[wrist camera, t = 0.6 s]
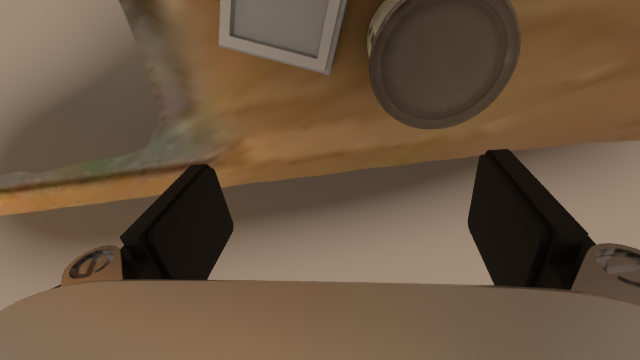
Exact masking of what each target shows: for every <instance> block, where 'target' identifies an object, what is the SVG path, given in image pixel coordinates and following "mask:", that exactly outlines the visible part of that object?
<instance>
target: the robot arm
mask: <svg viewBox="0 0 640 360" xmlns="http://www.w3.org/2000/svg"><path fill="white" fill-rule="evenodd" d="M468 227H469V230H470V233H471V234H472V237H473V239H474V241H475V243H476V245H477V248H478V250H479V252H480V254H481V256H482V259H483V261H484V263H485V265H486V268H487V270H488V272H489V274H490V276H491V278H492V281H493V283H494V285H455V284H412V283H369V282H367V283H366V282H316V281H256V280H255V281H254V280H207V279H208V277H209V275H210V273H211V271H212V269H213V267H214V265H215V264H216V262H217V260H218V258H219V256H220V254H221V252H222V251H223V249H224V247H225V245H226V243H227V241H228V239H229V238H230V236H231V234H232V232H233V221H232V219H231V216H230V213H229V210H228V207H227V204H226V201H225V199H224V196H223V193H222V190H221V187H220V184H219V181H218V178H217V175H216V173H215V170H214V169H213V168H210V166H209V165H207V164H202V165H191V166H190V167H189V168H188V169H187V170H186V171H185V172H184V173H183V174H182V175H181V176H180V177H179V178H178V179H177V180H176V181H175V182H174V183H173V184H172V185H171V186H170V187H169V188H168V189H167V190H166V191H165V192H164V193H163V194H162V195H161V196H160V197H159V198H158V199H157V200H156V201H155V202H154V203H153V204H152V205H151V206H150V207H149V208H148V209H147V210H146V211H145V212H144V213H143V214H142V215H141V216H140V217H139V218H138V219H137V220H136V221H135V222H134V223H133V224H132V225H131V227H130V228H128V229H127V231H125V232H124V234H122V235H121V236H120V239H121V241H122V242H123V244H124V246H123V247H122V248H121V249H119V247H117V246H115V245H105V246H100V247H97V248H94V249H92V250H90V251H88V252H86V253H84V254H82V255H81V256H79V257H77V258H76V259H75V260H74V261H72V262H71V263H70V264H69V265H68V266H67V268H66V269H65V270H64V273H63V275H62V280H61V285H59V286H57V287H55V288H53V289H50V290H47V291H44V292H40V293H37V294H35V295H32V296H29V297H27V298H24V299H22V300H20V301H17V302H15V303H13V304H12V305H9V306H8V307H6V308H4V309H3V310H1V311H0V360H640V250H638V249H636V248H632V247H629V246H625V245H619V244H611V243H605V244H598V245H596V244H595V243H594V242H593V241H592V240H591V238H590V237H589V236H588V233H587V232H586V231H585V230H584V229H583V227H581V225H580V224H579V223H578V222H577V221H575V219H574V218H573V217H572V216H571V215H570V214H569V213H568V212H567V211H566V210H565V208H564V207H563V206H562V205H561V204H560V203H559V202H558V201H557V200H556V199H555V198H554V197H553V196H552V195H551V194H550V193H549V191H548V190H547V189H546V188H545V187H544V186H543V185H542V184H541V183H540V182H539V181H538V180H537V179H536V178H535V177H534V176H533V175H532V174H531V172H530V171H529V170H528V169H527V168H526V167H525V166H524V165H523V164H522V163H521V162H520V161H519V160H518V159H517V158H516V157H515V156H514V155H513V153H512V152H511V151H510V150H508V149H501V150H488V151H486V153H485V155H481V156H480V157H479V161H478V167H477V173H476V178H475V184H474V189H473V194H472V200H471V206H470V211H469V216H468Z"/></svg>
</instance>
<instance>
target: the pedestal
mask: <svg viewBox="0 0 640 360" xmlns="http://www.w3.org/2000/svg"><path fill="white" fill-rule="evenodd" d="M347 4H348V0H220V24H219V47H223V48H227V49H231V50H235V51H238V52H242V53H246V54H250V55H254V56H258V57H261V58H265V59H269V60H273V61H277V62H280V63H284V64H288V65H292V66H296V67H300V68H303V69H307V70H311V71H315V72H319V73H322V74H326V75H329V74H330V72H331V69H332V67H333V63H334V59H335V54H336V50H337V46H338V42H339V38H340V33H341V29H342V25H343V21H344V16H345V12H346V8H347Z"/></svg>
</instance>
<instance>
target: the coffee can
mask: <svg viewBox="0 0 640 360" xmlns="http://www.w3.org/2000/svg"><path fill="white" fill-rule="evenodd" d="M520 44H521V33H520V25H519V21H518V18H517V14H516V12H515V10H514V8H513V6H512V5H511V3H510V1H509V0H385V1H384V2H383V3H382V4H381V5H380V6H379V8H378V10H377V11H376V12H375V14H374V16H373V18H372V20H371V23H370V26H369V29H368V34H367V50H368V55H369V59H370V61H369V73H370V80H371V85H372V88H373V91H374V94H375V96H376V98H377V100H378V101H379V103H380V105H381V106H382V107H383V108H384V110H385V111H386V112H387V113H388V114H390V115H391V116H392V117H393V118H395V119H396V120H398V121H399V122H401V123H403V124H405V125H408V126H411V127H415V128H419V129H441V128H447V127H451V126H455V125H458V124H460V123H463V122H465V121H467V120H469V119H471V118H472V117H474V116H476V115H477V114H479V113H480V112H481V111H483V110H484V109H485V108H487V107H488V106H489V105H490V104H491V103H492V102H493V101H494V100H495V99H496V98H497V97H498V96H499V94H500V93H501V92H502V91H503V89H504V88H505V87H506V85H507V83H508V82H509V80H510V78H511V76H512V74H513V72H514V69H515V67H516V64H517V61H518V57H519V52H520Z"/></svg>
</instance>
